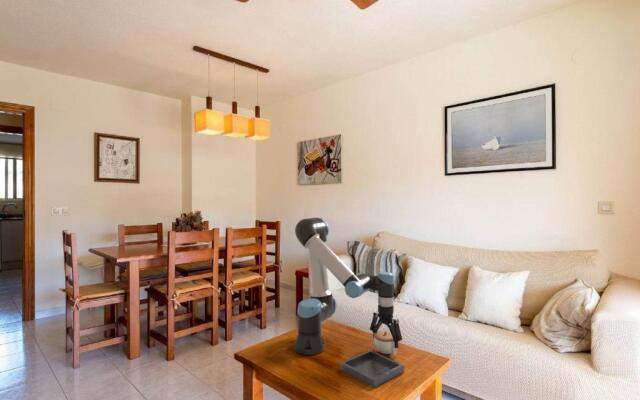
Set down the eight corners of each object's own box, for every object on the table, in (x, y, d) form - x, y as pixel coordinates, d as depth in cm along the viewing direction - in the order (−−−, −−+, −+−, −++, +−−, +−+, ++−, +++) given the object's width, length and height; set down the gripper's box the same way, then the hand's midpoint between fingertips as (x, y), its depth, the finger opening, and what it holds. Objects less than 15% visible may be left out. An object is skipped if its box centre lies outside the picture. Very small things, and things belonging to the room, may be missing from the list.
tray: (340, 369, 153) (340, 362, 153) (370, 356, 166) (370, 350, 166) (374, 387, 138) (374, 380, 138) (403, 372, 151) (403, 365, 151)
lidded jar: (401, 353, 167) (401, 333, 166) (382, 357, 162) (382, 337, 162) (387, 344, 176) (387, 326, 176) (369, 348, 172) (369, 329, 172)
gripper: (410, 309, 162) (409, 356, 163) (372, 297, 180) (372, 340, 180) (400, 312, 158) (399, 361, 158) (362, 300, 175) (362, 343, 176)
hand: (385, 349), depth 169 cm, fingers closed on lidded jar, 11 cm apart
